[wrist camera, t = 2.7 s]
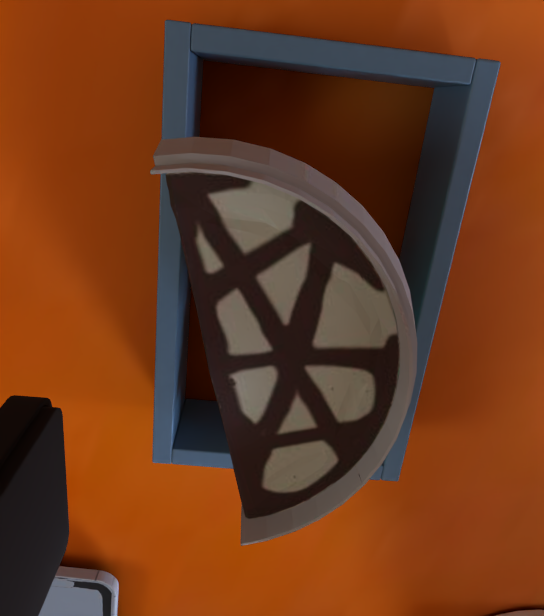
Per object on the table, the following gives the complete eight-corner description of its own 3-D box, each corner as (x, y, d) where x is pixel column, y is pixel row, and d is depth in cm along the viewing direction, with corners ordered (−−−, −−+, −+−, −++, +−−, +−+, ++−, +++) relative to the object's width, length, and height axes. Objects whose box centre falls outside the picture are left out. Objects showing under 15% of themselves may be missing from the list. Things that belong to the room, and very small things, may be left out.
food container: (377, 371, 25) (444, 532, 16) (251, 390, 25) (244, 559, 16) (350, 99, 20) (423, 98, 11) (197, 125, 21) (143, 146, 11)
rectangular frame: (458, 68, 20) (502, 60, 16) (379, 428, 26) (398, 482, 23) (183, 34, 20) (164, 19, 16) (168, 410, 26) (152, 463, 22)
